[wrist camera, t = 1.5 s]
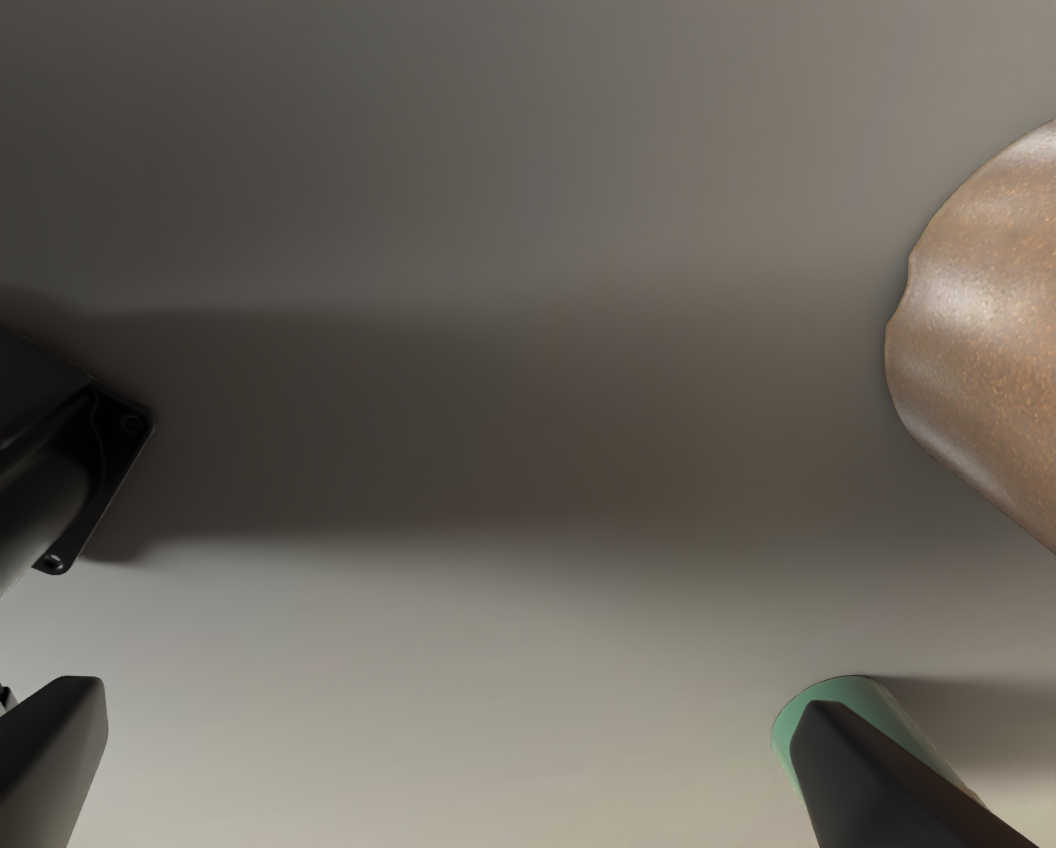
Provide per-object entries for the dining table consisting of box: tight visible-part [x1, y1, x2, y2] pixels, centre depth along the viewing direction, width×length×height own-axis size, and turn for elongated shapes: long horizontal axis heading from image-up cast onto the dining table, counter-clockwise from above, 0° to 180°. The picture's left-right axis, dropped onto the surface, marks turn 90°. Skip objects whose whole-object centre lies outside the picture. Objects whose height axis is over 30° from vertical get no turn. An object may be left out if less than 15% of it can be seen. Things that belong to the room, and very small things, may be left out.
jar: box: [771, 676, 992, 818], centre depth 26 cm, size 6×6×6 cm
